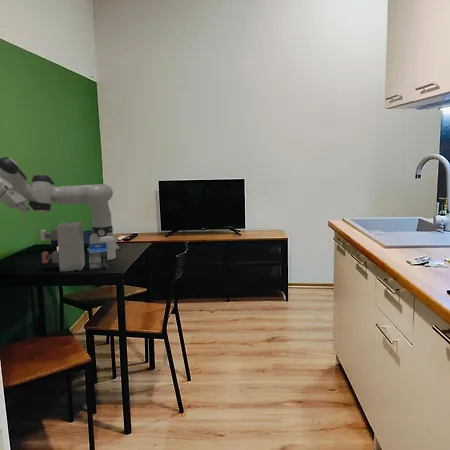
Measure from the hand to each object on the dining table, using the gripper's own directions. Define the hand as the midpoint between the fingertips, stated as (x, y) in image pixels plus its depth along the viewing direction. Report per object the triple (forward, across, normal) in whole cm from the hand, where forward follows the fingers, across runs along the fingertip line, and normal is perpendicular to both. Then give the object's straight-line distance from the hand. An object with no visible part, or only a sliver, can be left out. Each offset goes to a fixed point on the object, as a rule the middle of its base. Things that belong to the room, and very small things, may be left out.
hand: (27, 210), depth 226 cm
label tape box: (+44, +4, +2) cm, 44 cm away
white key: (+16, 0, -5) cm, 17 cm away
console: (+33, 0, -9) cm, 34 cm away
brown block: (+24, 0, -12) cm, 27 cm away
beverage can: (+46, -17, +4) cm, 49 cm away
